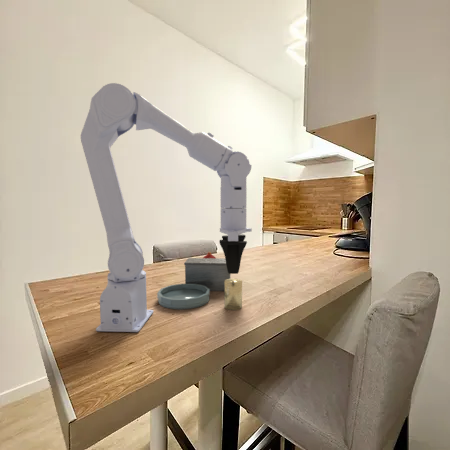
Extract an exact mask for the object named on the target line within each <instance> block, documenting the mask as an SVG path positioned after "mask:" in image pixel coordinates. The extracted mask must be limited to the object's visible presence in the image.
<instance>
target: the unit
mask: <svg viewBox="0 0 450 450" xmlns="http://www.w3.org/2000/svg"><path fill="white" fill-rule="evenodd" d="M183 263H184V264H183V265H184V273H185V274H184V275H185V276H184V277H185V278H184V279H185V280H184V282H185V283H184V284H198V285H204V286H206V287H207V288H209V289H210V292H224V281H225V280H226V279H232V278H231V275H232V274H228V270H227V265H226V259H225V257H223V258H217V257H215V258H203V257H202V258H201V257H196V258H195V257H188V258H187V259H186V260H185V261H184V262H183Z"/></svg>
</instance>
